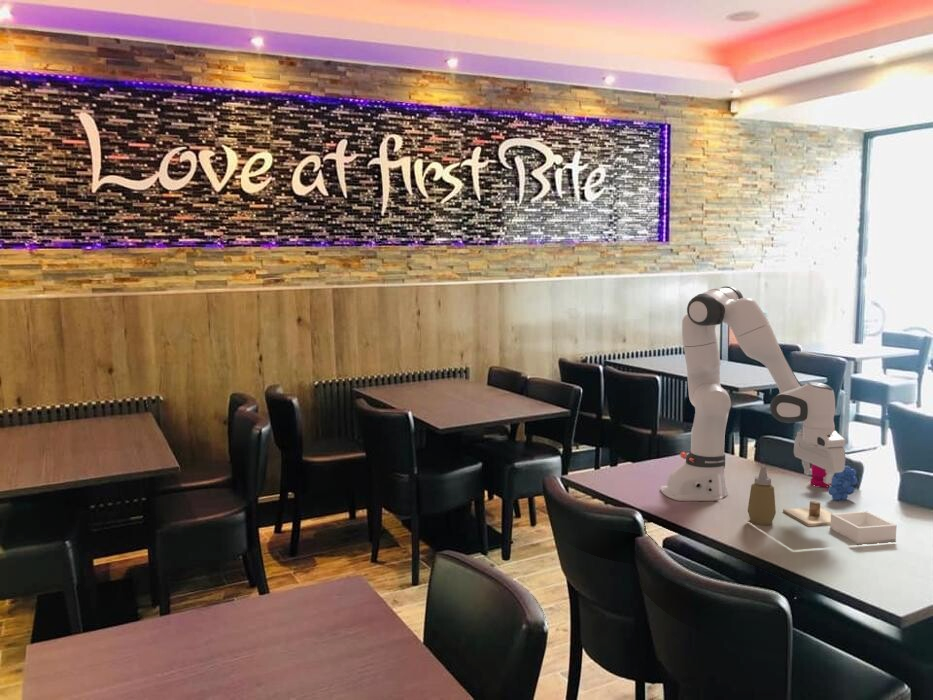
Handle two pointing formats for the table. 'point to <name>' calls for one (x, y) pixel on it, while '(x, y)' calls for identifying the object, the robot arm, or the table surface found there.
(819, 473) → the pepper mill
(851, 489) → the grapes
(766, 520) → the squeeze bottle
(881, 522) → the white open box
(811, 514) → the lid
